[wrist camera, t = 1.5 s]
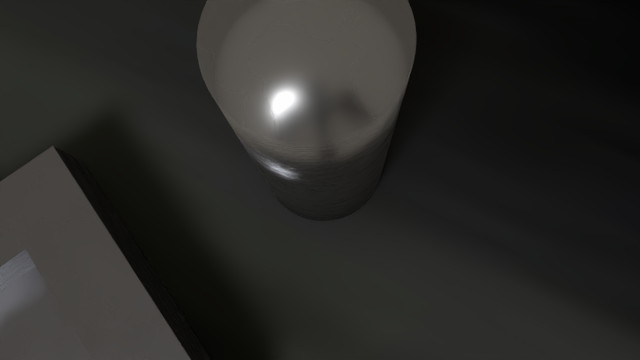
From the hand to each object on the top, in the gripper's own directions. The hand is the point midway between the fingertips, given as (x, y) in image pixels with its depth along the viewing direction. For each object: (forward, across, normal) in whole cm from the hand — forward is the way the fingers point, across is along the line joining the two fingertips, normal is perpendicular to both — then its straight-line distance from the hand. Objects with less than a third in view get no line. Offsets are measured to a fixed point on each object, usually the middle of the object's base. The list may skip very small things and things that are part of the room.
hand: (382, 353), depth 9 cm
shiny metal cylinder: (+14, 0, +4) cm, 14 cm away
